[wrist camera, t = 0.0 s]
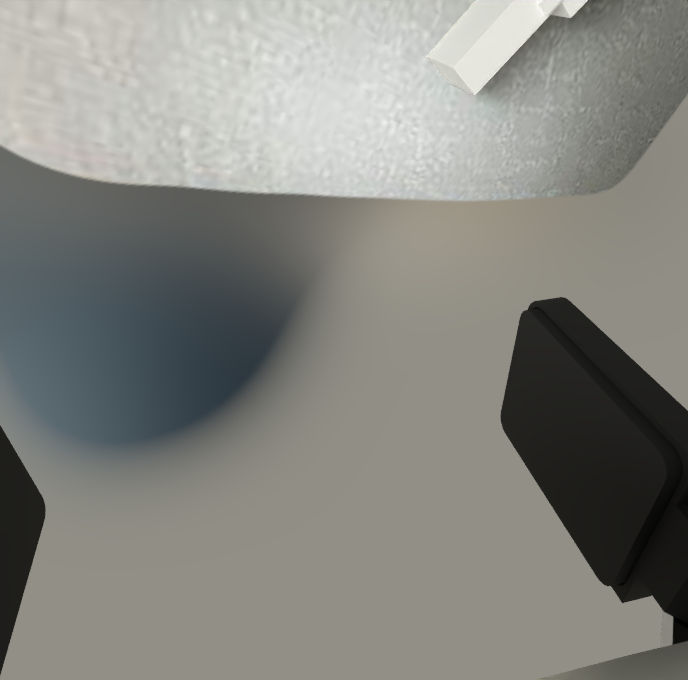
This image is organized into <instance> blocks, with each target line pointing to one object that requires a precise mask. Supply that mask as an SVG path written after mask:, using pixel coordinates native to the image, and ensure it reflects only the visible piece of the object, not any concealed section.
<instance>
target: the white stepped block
mask: <svg viewBox="0 0 688 680" xmlns="http://www.w3.org/2000/svg"><path fill="white" fill-rule="evenodd" d="M587 1H588V0H475V2H474V3H473V4H472V5H471V6H470V7H469V8H468V10H467V11H466V12H465V13H464V14H463V15H462V16H461V18H460V19H459V20H458V21H457V22H456V23H455V24H454V25H453V27H452V28H451V29H450V30H449V31H448V32H447V33H446V35H445V36H444V37H443V38H442V39H441V40H440V41H439V43H438V44H437V45H436V46H435V47H434V48H433V49H432V51H431V52H430V53H429V54H428V55H427V58H428V59H429V60H430V61H431V63H432V64H433V65H434V66H435V68H436V69H437V70H438V71H439V73H440V74H441V75H442V76H443V78H444V79H445V80H446V81H447V82H449V83H451V84H453V85H455V86H457V87H459V88H461V89H463V90H465V91H467V92H469V93H471V94H473V95H476V94H477V93H478V92H479V91H480V89H481V88H482V87H483V86H484V85H485V84H486V83H487V82H488V81H489V80H490V79H491V78H492V77H493V76H494V75H495V73H496V72H497V71H498V70H499V69H500V68H501V67H502V66H503V65H504V64H505V63H506V62H507V61H508V60H509V59H510V57H511V56H512V55H513V54H514V53H515V52H516V51H517V50H518V49H519V48H520V47H521V46H522V45H523V44H524V42H525V41H526V40H527V39H528V38H529V37H530V36H531V35H532V34H533V33H534V32H535V31H536V30H537V29H538V28H539V26H540V25H541V24H542V23H543V22H544V21H545V20H546V19H547V18H548V17H549V16H550V15H555V16H561V17H568V18H571V17H572V16H573V15H574V14H575V13H576V12H577V11H578V10H579V9H580V8H581V7H582V6H583V5H584V4H585V3H586V2H587Z"/></svg>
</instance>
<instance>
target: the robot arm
mask: <svg viewBox="0 0 688 680" xmlns="http://www.w3.org/2000/svg"><path fill="white" fill-rule="evenodd" d="M501 423H502V427H503V430H504V432H505V433H506V435H507V437H508V438H509V440H510V441H511V443H512V444H513V446H514V448H515V449H516V451H517V452H518V454H519V455H520V457H521V458H522V460H523V462H524V463H525V465H526V466H527V468H528V469H529V471H530V473H531V474H532V476H533V477H534V479H535V481H536V482H537V483H538V485H539V487H540V488H541V490H542V491H543V493H544V495H545V496H546V498H547V499H548V501H549V503H550V504H551V506H552V507H553V509H554V510H555V512H556V513H557V515H558V517H559V518H560V520H561V521H562V523H563V525H564V526H565V528H566V529H567V530H568V532H569V534H570V535H571V537H572V538H573V540H574V542H575V543H576V545H577V546H578V548H579V550H580V551H581V553H582V554H583V556H584V557H585V559H586V561H587V562H588V564H589V565H590V567H591V568H592V570H593V571H594V573H595V575H596V576H597V578H598V579H599V580H600V581H601V582H602V583H603V584H604V585H606V586H611V587H612V588H613V590H614V591H615V592H616V594H617V596H618V597H619V599H620V600H621V602H622V603H624V602H628V601H632V600H636V599H640V598H644V597H648V596H651V595H653V597H654V598H655V600H656V601H657V602H658V604H659V605H660V607H661V608H662V628H661V648H657V649H653V650H649V651H645V652H641V653H637V654H632V655H628V656H625V657H621V658H617V659H613V660H610V661H606V662H602V663H598V664H594V665H591V666H587V667H583V668H579V669H575V670H572V671H568V672H564V673H560V674H556V675H553V676H549V677H545V678H541V679H537V680H688V411H687V410H686V409H685V408H684V407H683V406H682V405H681V404H680V403H679V402H677V401H676V400H675V399H674V398H673V397H672V396H671V395H670V394H669V393H668V392H667V391H666V390H665V389H664V388H663V387H661V386H660V385H659V384H658V383H657V382H656V381H655V380H654V379H653V378H652V377H651V376H650V375H648V374H647V373H646V372H645V371H644V370H643V369H642V368H641V367H640V366H639V365H638V364H637V363H636V362H635V361H634V360H632V359H631V358H630V357H629V356H628V355H627V354H626V353H625V352H624V351H623V350H622V349H621V348H620V347H618V346H617V345H616V344H615V343H614V342H613V341H612V340H611V339H610V338H609V337H608V336H607V335H606V334H604V332H602V331H601V330H600V329H599V328H598V327H597V326H596V325H595V324H594V323H593V322H592V321H591V320H590V319H588V318H587V317H586V316H585V315H584V314H583V313H582V312H581V311H580V310H579V309H578V308H577V307H576V306H575V305H573V304H572V303H571V302H570V301H569V300H568V299H566V298H562V297H560V298H553V299H547V300H541V301H534V302H533V303H531V304H530V306H529V308H528V310H526V311H523V313H522V314H521V317H520V321H519V326H518V331H517V336H516V341H515V346H514V350H513V355H512V361H511V365H510V371H509V375H508V380H507V385H506V390H505V395H504V400H503V405H502V410H501ZM44 519H45V503H44V500H43V497H42V495H41V494H40V492H39V491H38V489H37V487H36V485H35V484H34V482H33V480H32V478H31V477H30V475H29V473H28V472H27V470H26V469H25V467H24V465H23V463H22V462H21V460H20V458H19V457H18V455H17V453H16V451H15V450H14V448H13V446H12V444H11V443H10V441H9V439H8V438H7V436H6V434H5V433H4V431H3V429H2V427H1V426H0V674H1V670H2V667H3V664H4V660H5V657H6V653H7V650H8V646H9V643H10V639H11V635H12V632H13V629H14V625H15V621H16V618H17V614H18V611H19V607H20V604H21V600H22V596H23V593H24V590H25V586H26V583H27V579H28V576H29V572H30V569H31V565H32V562H33V558H34V555H35V551H36V548H37V544H38V541H39V537H40V534H41V530H42V527H43V523H44Z"/></svg>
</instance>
